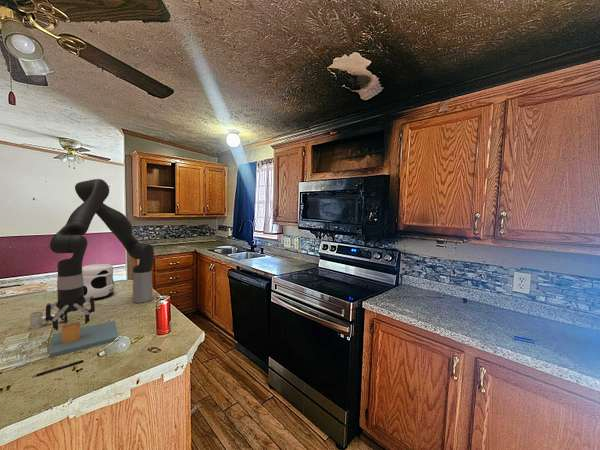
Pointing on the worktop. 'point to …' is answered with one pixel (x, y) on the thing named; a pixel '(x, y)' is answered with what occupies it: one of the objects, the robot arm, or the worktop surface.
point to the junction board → (85, 338)
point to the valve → (41, 319)
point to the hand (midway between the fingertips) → (71, 326)
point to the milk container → (98, 280)
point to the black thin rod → (58, 368)
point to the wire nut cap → (70, 332)
